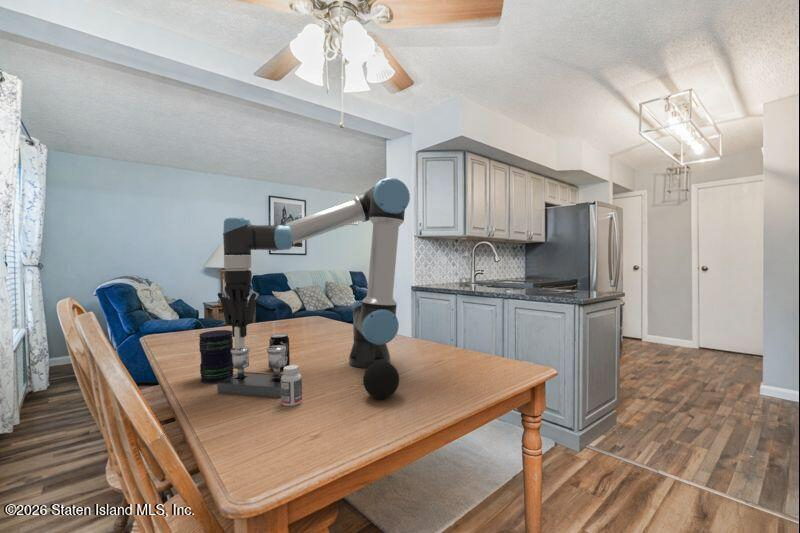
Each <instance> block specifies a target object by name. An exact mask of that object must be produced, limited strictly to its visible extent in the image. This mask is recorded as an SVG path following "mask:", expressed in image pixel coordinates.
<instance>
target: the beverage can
mask: <svg viewBox="0 0 800 533" xmlns="http://www.w3.org/2000/svg"><path fill="white" fill-rule="evenodd" d="M276 345H283V346H286V351H285V366H289V365H290V364H291V363H290V362H291V358H290V338H289V336H288V333H285V332H284V333H283V332H282V333H273V334H271V335H270V338H269V347H270V346H276ZM285 366H283V367H280V372H283V368H284V367H285ZM270 369H271V370H272V371H273V372H274V368H270Z"/></svg>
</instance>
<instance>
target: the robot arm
mask: <svg viewBox="0 0 800 533" xmlns="http://www.w3.org/2000/svg"><path fill="white" fill-rule="evenodd" d="M410 199H411V197H410V191H409V189H408V187H407V185H406V184H405V183H404V181H402V180H400V179H399V178H397V177H396V178H395V177H386V178H383V179H380V180H379V181H378V182H377V183H376V184H375V185H374V186H372V187H371V188H370V189H368V190H367V191H365V192H364V193H361V194H359V195H356V196H354V197H353V199H352V200H350V201H347V202H344V203H342V204H339V205H335V206H333V207H330V208H326V209H324V210H321V211H318V212H315V213H313V214H309V215H306V216H304V217H300V218H298V219H294V220H292V221H289V222H285V223H283V224H278V225H273V224H271V225H267V224H266V225H264V224H263V225H257V224H252V223H251V219H250V218H245V217H227V218H225V219H224V221H223V233H222V235H223V237H222V238H223V268H224V269H225V270H224V275H223V276H224V279H223V280H224V283H225V287H224V290H222V291H221V292H218V293H217V297H218V299H219V300H220V304H221V307H222V312H223V315H224V316H223V317H224V321H225V324H226V325H230V326H231V328H232V329H231V331H232V338H234V348H235V349H240V348H243V347H246V344H245V342H246V337H247V330H248V329H247V326H248V325H251V324H253V322H254V317H255V312H256V308H257V307H256V306H257V301H258V299H259V297H260V295H261V293H259V292H256V291H255V290H253V287H252V279H253V277H252V270H250V269H251V268H252V251H253V250H254V251H259V250H261V251H264V250H265V251H271V252H277V251H285V250H286V251H287V250H290V249H292V247H293V246H292V245H295V244H297V243H300V242H304V241H306V240H309V239H312V238H315V237H318V236H320V235H323V234H325V233H328V232H331V231H334V230H337V229H339V228H343V227H345V226H348V225H350V224H354V223H356V222H359V221H360V222H362V223H366V222H369V221H370V222H371V223H372V235H371V246H370V247H371V248H370V259H369V269H368V281H367V291H366V292H367V293H366V296H365V297H364V298H363V299H362V300H355V301H354V302H353V303H352V318H353V319H352V321H353V322H352V324H353V328H352V329H353V343H352V345H351V350H350V353H349V356H348V363H349V365H350V366H352V367H356V368H363V369H367V368H368V367H369V366H370V365H371V364H373V363H375V362H378V361H385V362H388V363H390V364H391V354H390V351H389V348H388V345H387V344H388V343H390V342H392V340H393V339H395V337H396V336H397V334H398V331H399V324H400V323H399V320H398V318H397V306H398V305H397V304H398V303H397V302H396V301H395V299H394V287H395V274H396V266H397V265H396V264H397V252H398V239H399V231H400V230H399V228H400V226H401V225H402V224H404V221H405V212H406V209H407V207H408V205H409V204H410Z"/></svg>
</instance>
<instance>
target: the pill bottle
mask: <svg viewBox="0 0 800 533" xmlns="http://www.w3.org/2000/svg"><path fill="white" fill-rule="evenodd" d="M299 369H300V368H299V365H297V364H291V365H289V366H285V367H284V368H283V371H282V372H283V374H284V375H283V376H282V377H281V395H282V397H281V405H283V406H285V407H294V406H298V405H300V404H301V403H302V401H303V384H302V383H303V382H302V381H303V380H302V374H300V373H299V372H300V370H299Z"/></svg>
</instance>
